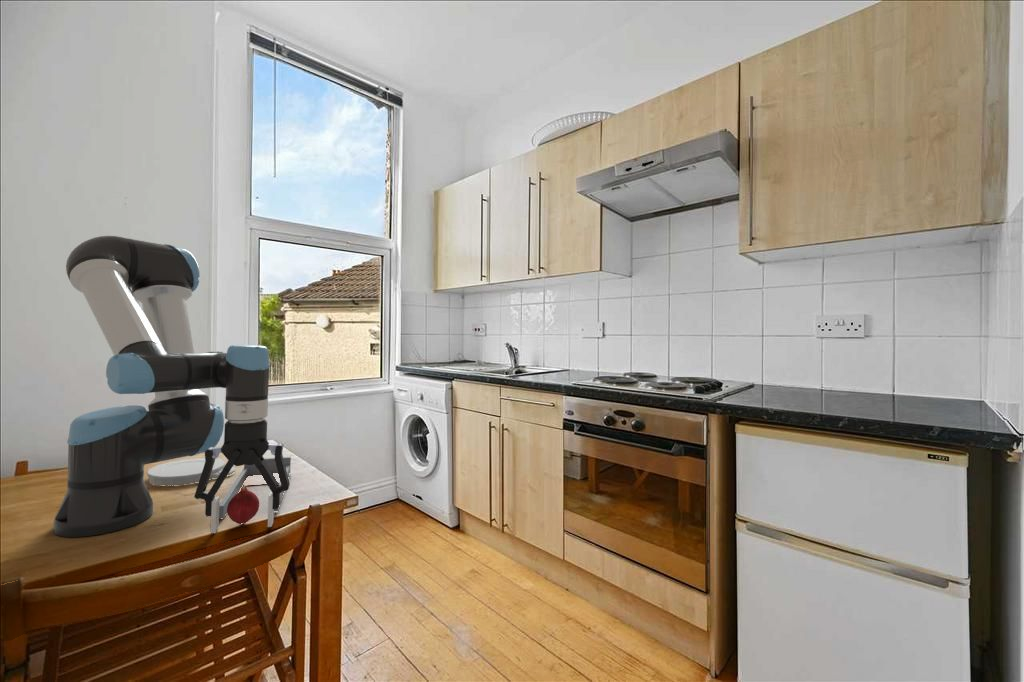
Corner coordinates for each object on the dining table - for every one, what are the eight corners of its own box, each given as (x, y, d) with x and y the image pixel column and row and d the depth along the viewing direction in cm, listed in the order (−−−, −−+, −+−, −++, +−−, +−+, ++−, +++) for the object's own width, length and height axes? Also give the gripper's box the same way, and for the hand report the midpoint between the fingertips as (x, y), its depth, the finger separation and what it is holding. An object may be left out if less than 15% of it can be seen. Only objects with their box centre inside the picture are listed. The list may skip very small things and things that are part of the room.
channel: (217, 520, 92) (218, 496, 92) (244, 477, 119) (245, 459, 119) (277, 513, 97) (278, 491, 97) (290, 473, 124) (290, 456, 124)
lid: (223, 485, 113) (223, 474, 113) (131, 490, 108) (132, 478, 108) (244, 466, 130) (244, 456, 130) (165, 469, 124) (166, 459, 124)
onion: (262, 525, 91) (263, 487, 91) (230, 533, 87) (231, 493, 87) (254, 516, 95) (255, 480, 95) (223, 523, 91) (224, 486, 91)
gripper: (175, 425, 81) (172, 543, 81) (303, 420, 90) (300, 527, 90) (188, 418, 88) (184, 527, 88) (306, 414, 97) (303, 513, 97)
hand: (243, 527), depth 89 cm, fingers open, 9 cm apart
